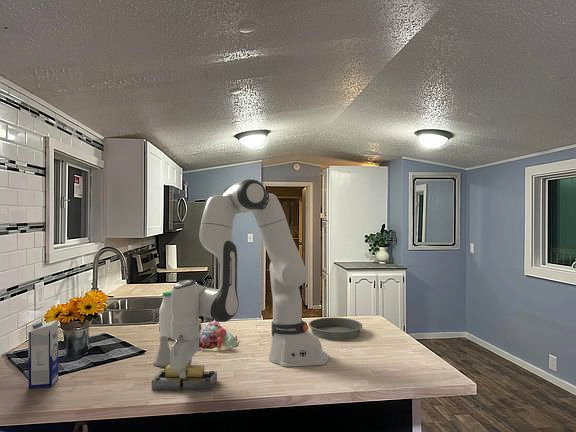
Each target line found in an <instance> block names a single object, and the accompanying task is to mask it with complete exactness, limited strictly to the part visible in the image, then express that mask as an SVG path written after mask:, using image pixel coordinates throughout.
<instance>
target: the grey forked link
mask: <svg viewBox="0 0 576 432" xmlns="http://www.w3.org/2000/svg"><path fill="white" fill-rule="evenodd" d="M217 381H218V372H217V371H215V370H210V371H204V379H199V378H185V379H184V380H183V387H182V391H190V390H194V391H197V392H199V391H200V392H203V391H204V392H212V391H213V389H214V388H215V385H216V384H217Z"/></svg>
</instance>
